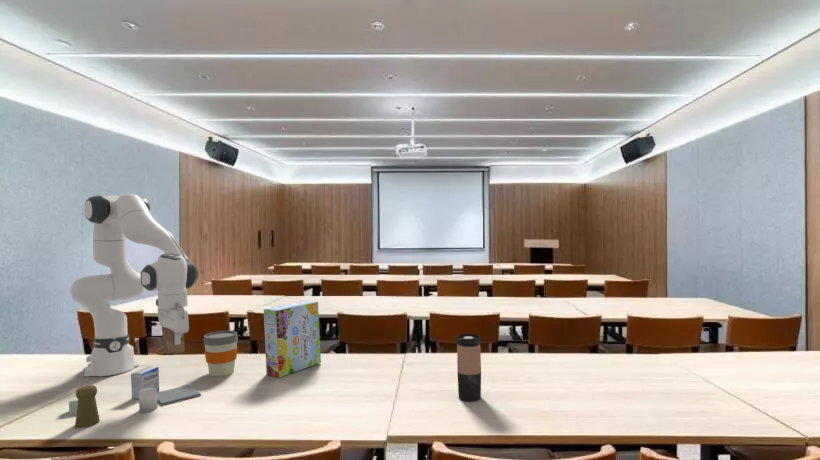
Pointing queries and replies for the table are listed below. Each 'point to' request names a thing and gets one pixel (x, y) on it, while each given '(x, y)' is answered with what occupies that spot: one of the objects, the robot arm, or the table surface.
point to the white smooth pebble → (148, 400)
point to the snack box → (291, 337)
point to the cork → (86, 407)
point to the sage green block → (73, 405)
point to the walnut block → (172, 342)
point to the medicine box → (144, 380)
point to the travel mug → (469, 367)
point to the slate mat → (176, 395)
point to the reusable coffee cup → (221, 352)
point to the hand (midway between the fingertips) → (174, 342)
